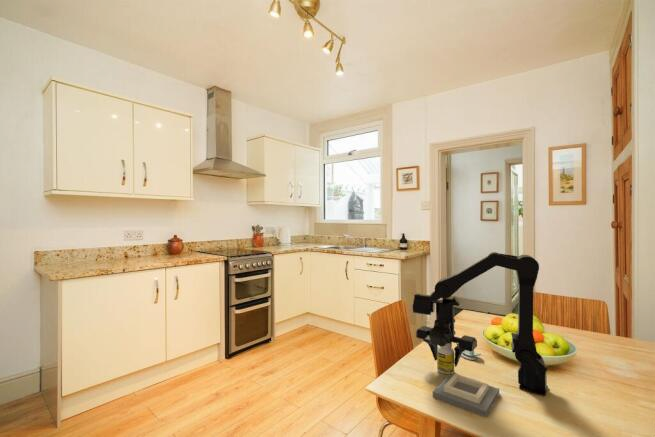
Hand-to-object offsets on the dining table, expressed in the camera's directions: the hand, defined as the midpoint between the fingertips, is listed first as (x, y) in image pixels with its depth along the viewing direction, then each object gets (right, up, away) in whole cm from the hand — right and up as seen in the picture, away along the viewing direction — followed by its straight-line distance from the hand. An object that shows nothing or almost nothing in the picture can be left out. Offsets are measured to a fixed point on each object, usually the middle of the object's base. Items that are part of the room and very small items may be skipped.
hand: (445, 363), depth 103 cm
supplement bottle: (0, -3, 0) cm, 3 cm away
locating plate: (0, -2, -15) cm, 15 cm away
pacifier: (+13, -3, +10) cm, 17 cm away
